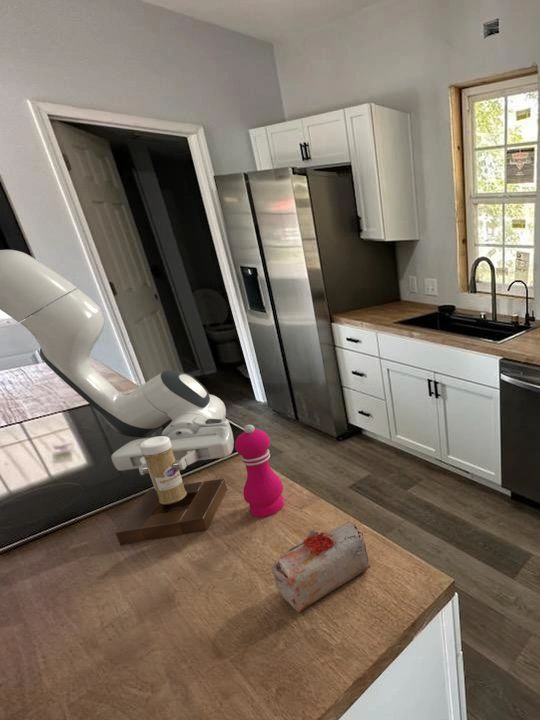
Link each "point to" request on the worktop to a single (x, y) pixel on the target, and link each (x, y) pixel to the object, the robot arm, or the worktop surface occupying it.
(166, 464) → the sprinkles bottle
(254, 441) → the pepper mill
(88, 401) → the robot arm
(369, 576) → the worktop surface
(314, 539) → the food item
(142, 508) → the socket block
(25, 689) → the worktop surface
